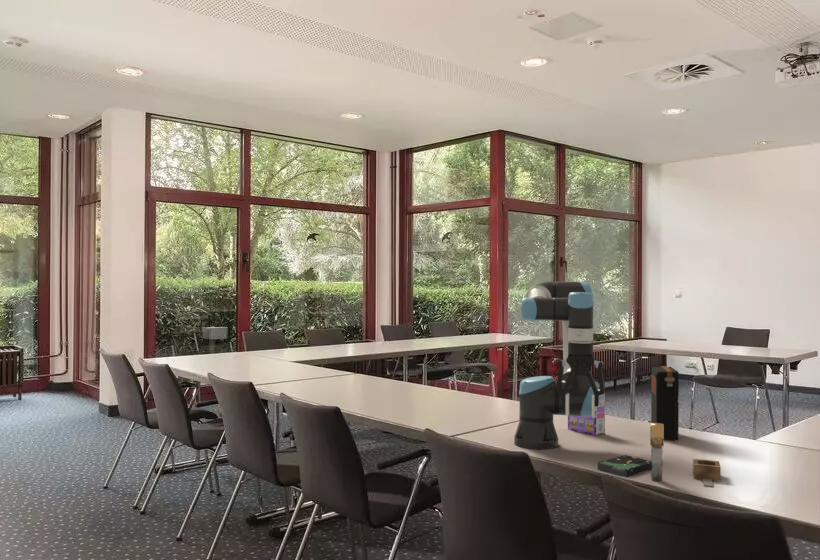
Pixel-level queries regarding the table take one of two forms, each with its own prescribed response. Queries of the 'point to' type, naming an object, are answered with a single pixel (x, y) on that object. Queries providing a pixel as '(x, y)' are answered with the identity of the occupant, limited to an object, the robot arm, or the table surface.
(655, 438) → the tan and gray bar
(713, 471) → the socket
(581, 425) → the candy box
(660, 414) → the black orange case
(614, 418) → the table surface
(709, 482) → the joist stripe
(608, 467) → the disk drive
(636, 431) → the table surface
